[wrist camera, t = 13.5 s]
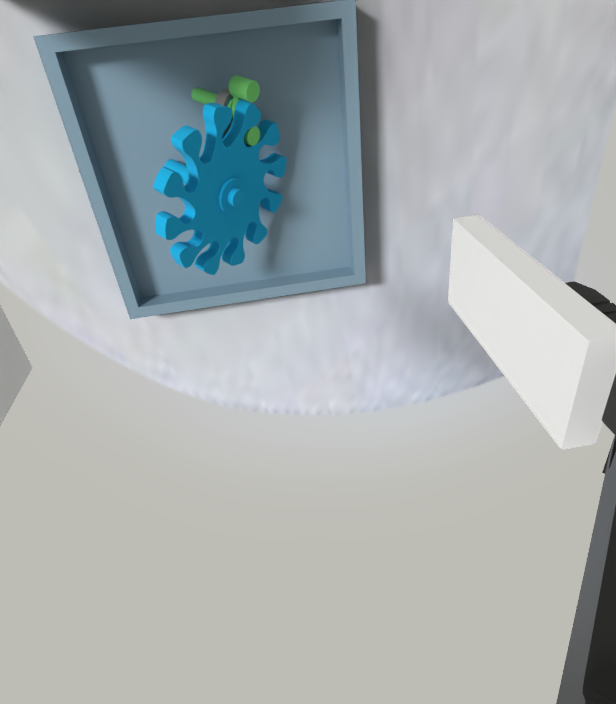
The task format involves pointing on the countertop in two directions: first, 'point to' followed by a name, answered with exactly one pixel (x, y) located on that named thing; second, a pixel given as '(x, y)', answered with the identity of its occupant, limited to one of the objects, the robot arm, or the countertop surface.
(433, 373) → the countertop surface
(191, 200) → the gear
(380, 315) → the countertop surface
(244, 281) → the tray
